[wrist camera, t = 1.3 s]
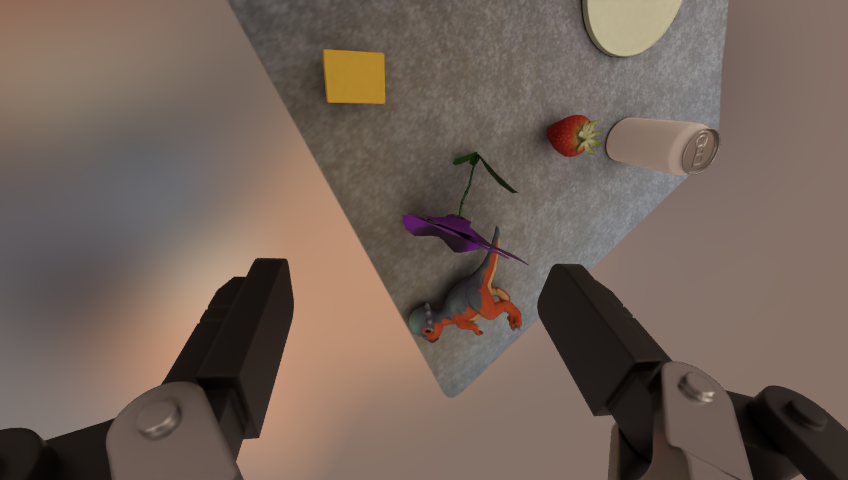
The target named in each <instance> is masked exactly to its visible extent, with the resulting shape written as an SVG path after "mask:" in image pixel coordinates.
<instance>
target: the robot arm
mask: <svg viewBox="0 0 848 480" xmlns="http://www.w3.org/2000/svg"><path fill="white" fill-rule="evenodd" d="M537 308H538V314H539V317H540V319H541V321H542V323H543V324H544V326H545V328H546V330H547V332H548V334H549V335H550V337H551V339H552V341H553V343H554V345H555V346H556V348H557V350H558V352H559V354H560V355H561V357H562V359H563V361H564V362H565V365H566V366H567V368H568V370H569V372H570V374H571V375H572V377H573V379H574V381H575V383H576V384H577V386H578V388H579V390H580V392H581V393H582V395H583V397H584V399H585V401H586V403H587V404H588V406H589V408H590V410H591V412H592V413H593V415H594V416H604V415H612V416H613V418H614V419H615V421H616V422H615V424H614V425H613V427H612V430H611V441H610V455H609V469H608V480H791V479H792V478H794V477H796V476H798V475H799V474H802V475H803V476H804V477H805V478H806V479H807V480H848V431H847V430H846V429H845V428H844V427H843V426H842V425H841V424H840V423H839V422H838V421H837V420H835V419H834V418H833V417H832V416H831V415H830V414H828V413H827V412H826V411H825V410H824V409H823V408H821V407H820V406H819V405H817V404H816V403H814V402H813V401H811V400H810V399H808V398H806V397H805V396H803V395H801V394H799V393H797V392H795V391H792V390H790V389H787V388H784V387H780V386H768V387H766V388H765V389H763V390H762V391H761V392H760V393H759V394H758V395H756V396H755V397H754V398H753V397H750V396H746V395H742V394H738V393H734V392H730V391H726V390H724V389H723V387H721V385H720V384H719V383H717V381H715V380H714V379H713V378H712V377H710V376H709V375H707V374H706V373H705V372H703V371H701V370H700V369H698V368H696V367H694V366H692V365H689V364H686V363H683V362H678V361H672V360H671V359H670V358H669V357H668V355H667V354H666V353H665V352H664V351H663V350H662V348H661V347H660V346H659V345H658V344H657V343H656V342H655V340H654V339H653V338H652V337H651V336H650V335H649V334H648V332H647V331H646V330H645V329H644V328H643V327H642V326H641V325H640V323H639V322H638V321H637V320H636V319H635V318H633V317H632V316H633V315H632V314H631V313H630V312H629V311H628V309H627V308H626V307H623V304H622V303H621V301H620V300H619V299H618V298H617V297H616V296H615V295H614V293H613V292H612V291H610V290H609V289H608V288H606V287H605V286H603V285H602V284H601V283H599V282H598V281H596V280H595V279H594V278H593V277H592V276H591V275H590V274H589V272H588V271H587V270H586V269H585V268H584V267H583V266H582V265H580V264H555V265H554V266H553V267H552V268H551V270H550V273H549V275H548V277H547V280H546V282H545V284H544V287H543V289H542V292H541V294H540V296H539V299H538V304H537ZM293 309H294V299H293V292H292V285H291V279H290V271H289V265H288V261H287V259H280V258H279V259H276V258H257V259H255V261H254V262H253V264H252V266H251V268H250V270H249V272H248V274H247V276H246V277H233V278H232V279H231V280H229V281H228V282H227V283H226V284H225V285H223V286H222V287H221V288H219V289H218V290H217V292H216V293H215V295H214V297H213V299H212V300H211V302H210V304H209V305H208V309H207V310H205V312H204V314H203V315H202V317H201V319H200V323H199V324H197V326H196V327H195V329H194V331H193V332H192V334H191V336H190V337H189V339H188V341H187V343H186V344H185V346H184V348H183V349H182V351H181V353H180V354H179V356H178V358H177V359H176V361H175V363H174V365H173V366H172V368H171V370H170V371H169V373H168V375H167V377H166V378H165V380H164V381H163V382H162V384H161V385H160V386H158V387H155V388H153V389H151V390H149V391H147V392H145V393H143V394H142V395H140V396H139V397H137V398H136V399H134V400H133V401H132V402H131V403H129V404H128V405H127V406H126V407H125V408H124V409H123V410H122V411H121V412H120V413H119V414H118V416H117V417H116V418H114V419H111V420H109V421H106V422H103V423H100V424H97V425H93V426H90V427H87V428H84V429H81V430H77V431H74V432H71V433H68V434H65V435H61V436H59V437H55V438H52V439H49V440H45V441H44V440H43V439H42V438H41V437H40V436H39V435H38V434H36V433H35V432H34V431H32V430H30V429H26V428H9V429H3V430H0V480H244V479H243V477H242V475H241V472H240V470H239V468H238V466H237V463H236V460H237V457H238V454H239V450H240V447H241V444H242V441H243V439H252V438H259V436H260V433H261V429H262V426H263V422H264V419H265V415H266V411H267V408H268V404H269V401H270V397H271V393H272V390H273V386H274V383H275V379H276V376H277V372H278V369H279V365H280V362H281V358H282V354H283V351H284V347H285V343H286V340H287V337H288V333H289V329H290V326H291V322H292V318H293V311H294V310H293Z"/></svg>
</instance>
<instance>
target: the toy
mask: <svg viewBox="0 0 848 480" xmlns="http://www.w3.org/2000/svg"><path fill="white" fill-rule="evenodd" d="M491 245H493V246H495V247H497V248H499V228H498V226H496V229H495V233H494V237H493V240H492V244H491ZM490 249H491V250H494V251H497V252H499V251H498V250H496V249H493V248H491V247H490ZM497 260H498V254H496V253H493V252H491V251H488V254H487V256H486V258H485V259H484V261H483V263H482V264H481V265H480V267H479V268H478V269H477V270H476V271H475V272H474V273H473V274H472V275H469V276H467V277H465V278H464V279H463V280H462V281H461V282H459V283H458V284H457V285H455V287H454V288H453V289H452V290H451V291H450V293H449V294H448V296H447V298H446V301H445V303H444V304H443V306H442V307H441V308H439V309H432V308H430V305H429V304H428V303H426V304H425V305H424V306H423V307H419V308H417V309H416V310H414V311H413V312H412V313H411V315H410V318H409V326H410V329H411V331H412V332H413V333H414V334H416V335H418V336H422V337H423V339H425V340H428V341H429V342H430V343H434V342H435V341H437V340H438V339H439V336H440V334H441V332H442V330H443V327H444V326H447V325H450V324H454V323H455V324H456V325H457V326H458V327H459V328H461V329H467V330H473V331H474V332H475V334H476V335H478V336H479V335H482V334H483V332H481V331H480V330H479V327H478V325H477V324H475V323H473V321H475V320H477V319H479V318H480V317H481V316H482V317H484V318H486V319H488V320H493V319H495V318H496V317H497V316H498V315H500V314H501V313H502V312H503V311H504V312H505V311H506V312H507V313H508V314H509V316H508V317H507V319H508V321H509V325H510V326H511V329H512V330H513V331H515V328H517V329H519V330H520V326H521V325H522V320H521V313H520V311H519V310H518V309H517V308H516V307H515V305H514V304H513V303H511V302H510V296H509V294H508V293H507V292H506V291H504V290H503V289H501V288H499V287H495V288H491V282H492V280H493V278H494V275H495V271H496V266H497ZM495 295H496V296H498V297H499V300H500V301H499V302H494V299H493V296H495Z"/></svg>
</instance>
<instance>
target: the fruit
mask: <svg viewBox="0 0 848 480" xmlns="http://www.w3.org/2000/svg"><path fill="white" fill-rule="evenodd" d="M597 122H598V120H595V121H592V122H590V120H589V119H588V118H587V117H585V116H583V115H574V116H570V117H567V118H564V119H563V120H561V121H558V122H556V123H554V124H553V125H552V126H551V127H549V129H548V133H547V136H548V139H549V141H550V143H551V144H552V146H553V147H554V149H555V150H556V151H558V152H559V153H560V154H562V155H564V156H565V157H573V156H576V155H579V154H581V153H582V152H583V151H584V150H586V151H587V152H588V153H589V154H594V150H593V149H592V148H591V147H590V146H589V144H590V145H592V146H599V145H600V144H601V143H600V142H599V141H597V140H594V139H592V137H595V136H597V135H600V134H603V133H602V132H595V133H593V129H594V127H595V125H596V123H597Z"/></svg>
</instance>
